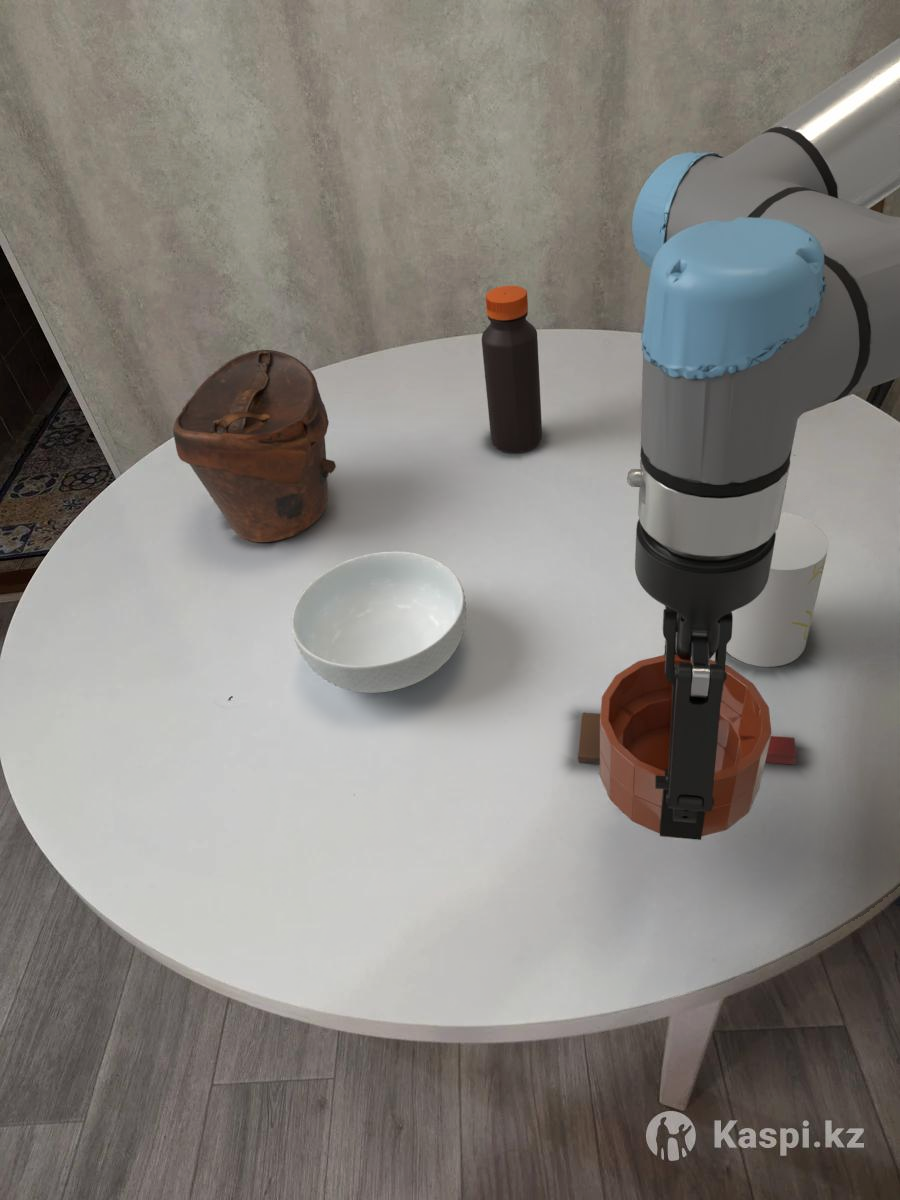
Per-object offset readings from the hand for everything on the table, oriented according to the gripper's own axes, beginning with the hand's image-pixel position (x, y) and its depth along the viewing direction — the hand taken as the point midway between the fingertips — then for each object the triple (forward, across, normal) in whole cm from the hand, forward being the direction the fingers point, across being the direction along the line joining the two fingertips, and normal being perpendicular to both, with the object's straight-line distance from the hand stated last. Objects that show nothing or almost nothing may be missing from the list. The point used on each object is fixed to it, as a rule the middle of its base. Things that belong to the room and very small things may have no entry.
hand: (679, 761), depth 63 cm
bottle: (+10, -58, -20) cm, 62 cm away
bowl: (+2, 0, 0) cm, 2 cm away
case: (+10, -41, -48) cm, 64 cm away
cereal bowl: (+10, -18, -28) cm, 35 cm away
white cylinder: (+10, -23, +8) cm, 27 cm away
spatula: (+10, -9, +2) cm, 14 cm away
